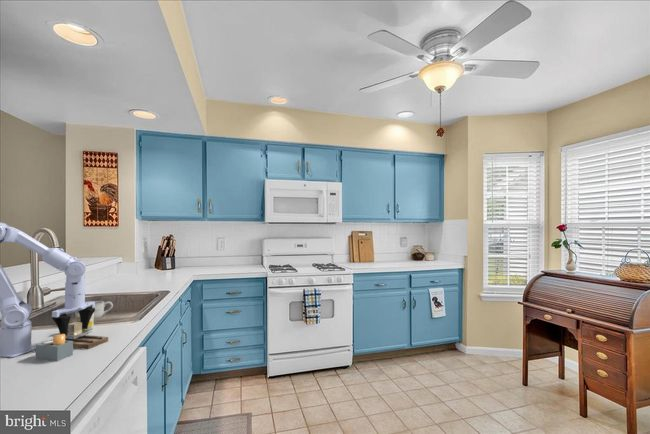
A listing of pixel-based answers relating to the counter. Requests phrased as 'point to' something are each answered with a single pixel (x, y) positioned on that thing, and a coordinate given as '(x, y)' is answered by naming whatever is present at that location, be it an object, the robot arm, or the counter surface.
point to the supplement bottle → (90, 325)
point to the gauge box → (53, 350)
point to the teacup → (98, 309)
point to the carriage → (75, 330)
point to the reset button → (59, 339)
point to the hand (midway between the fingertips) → (74, 331)
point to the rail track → (87, 341)
